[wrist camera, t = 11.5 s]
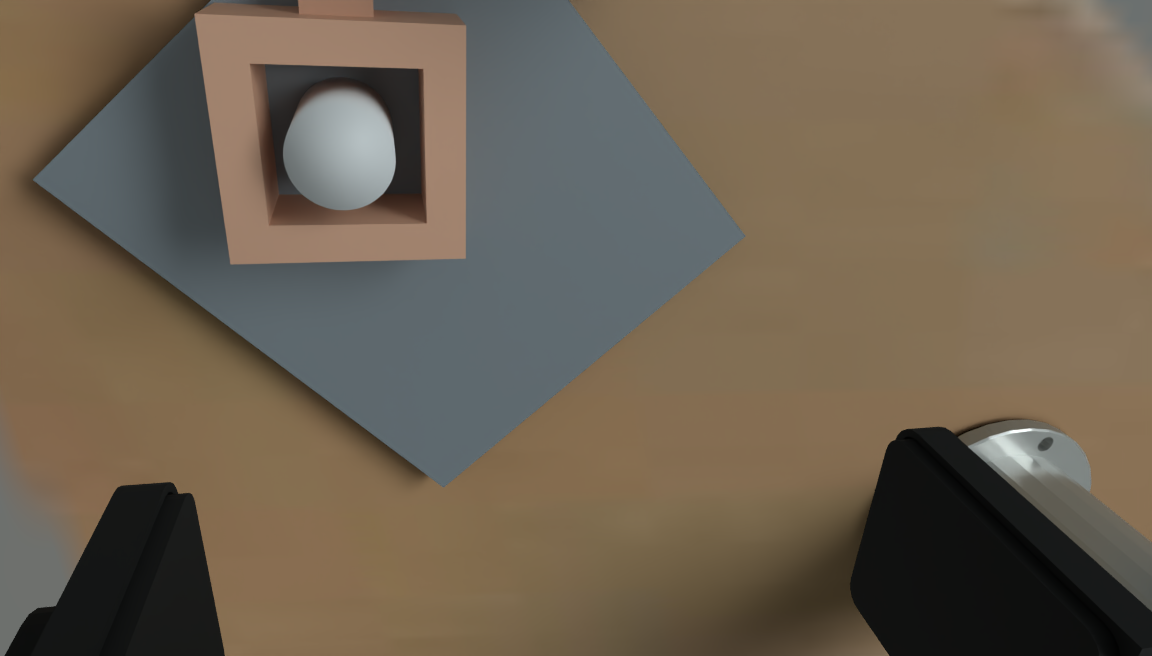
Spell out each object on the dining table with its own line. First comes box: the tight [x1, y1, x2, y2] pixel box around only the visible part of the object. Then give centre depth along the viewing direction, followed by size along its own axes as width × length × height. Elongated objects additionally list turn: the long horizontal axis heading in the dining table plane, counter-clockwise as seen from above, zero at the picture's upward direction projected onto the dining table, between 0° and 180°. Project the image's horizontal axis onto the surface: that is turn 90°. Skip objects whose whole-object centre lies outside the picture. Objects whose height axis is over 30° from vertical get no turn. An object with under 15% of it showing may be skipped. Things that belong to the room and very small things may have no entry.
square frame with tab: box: [194, 0, 466, 264], centre depth 23 cm, size 10×7×3 cm
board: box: [33, 0, 745, 487], centre depth 26 cm, size 18×16×5 cm
